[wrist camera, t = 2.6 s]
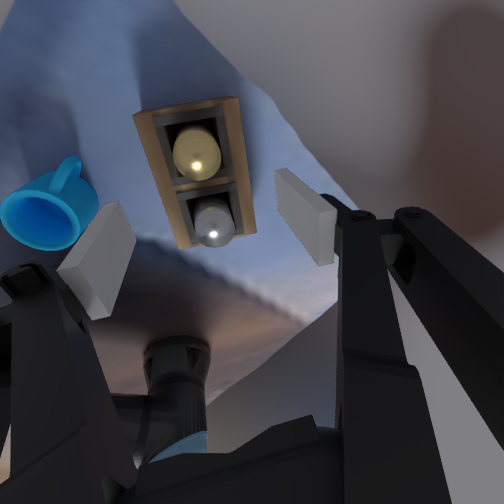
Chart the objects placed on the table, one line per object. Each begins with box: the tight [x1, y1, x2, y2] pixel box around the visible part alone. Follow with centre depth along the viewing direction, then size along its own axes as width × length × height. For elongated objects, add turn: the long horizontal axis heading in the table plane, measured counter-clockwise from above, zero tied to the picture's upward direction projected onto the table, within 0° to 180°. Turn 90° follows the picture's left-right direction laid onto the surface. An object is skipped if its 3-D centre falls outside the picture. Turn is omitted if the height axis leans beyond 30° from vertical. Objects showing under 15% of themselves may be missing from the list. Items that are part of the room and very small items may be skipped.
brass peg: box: [173, 124, 221, 181], centre depth 30 cm, size 5×5×7 cm
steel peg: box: [194, 194, 235, 248], centre depth 35 cm, size 5×5×7 cm
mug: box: [0, 156, 99, 251], centre depth 34 cm, size 12×8×8 cm
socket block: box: [132, 96, 257, 250], centre depth 36 cm, size 12×18×7 cm, turn 7°
